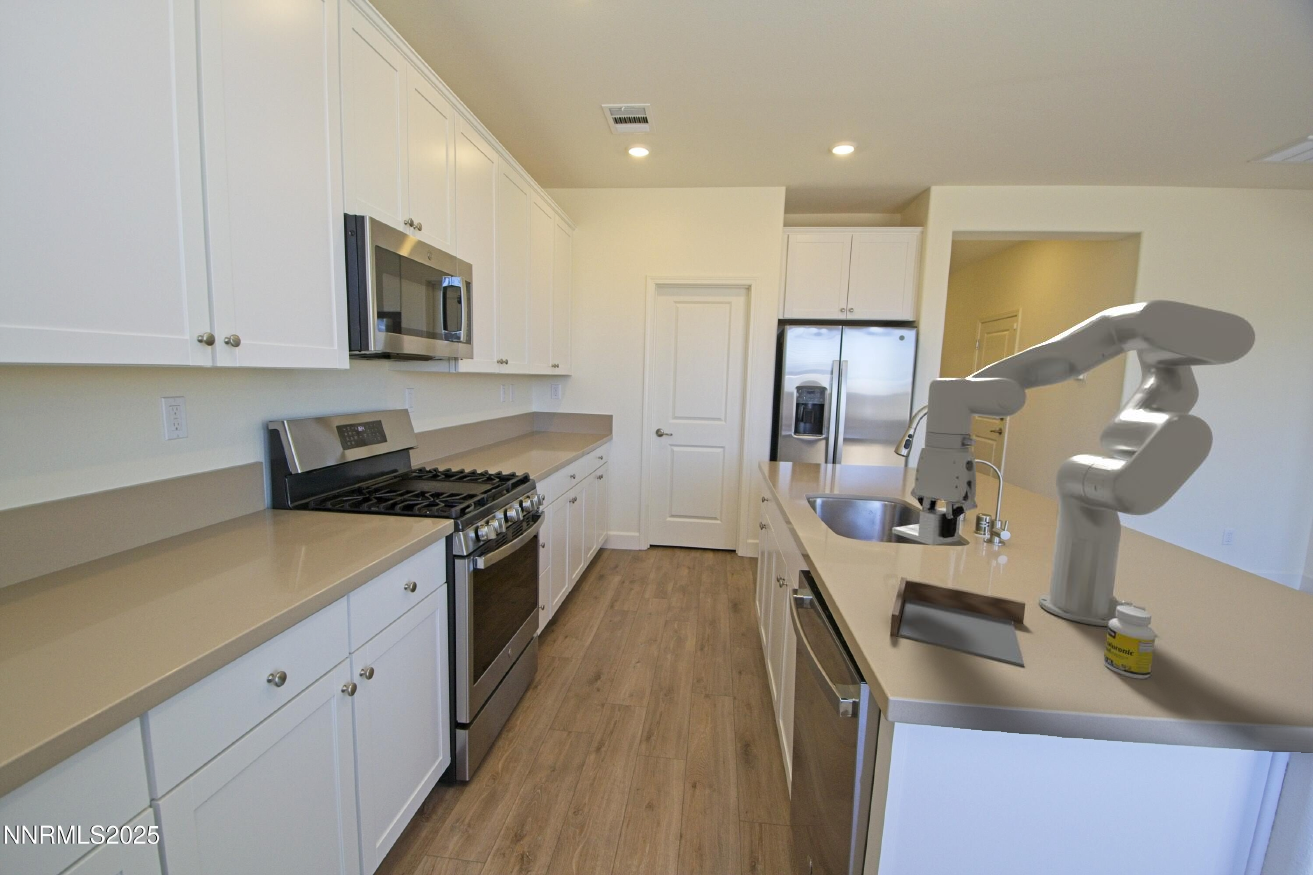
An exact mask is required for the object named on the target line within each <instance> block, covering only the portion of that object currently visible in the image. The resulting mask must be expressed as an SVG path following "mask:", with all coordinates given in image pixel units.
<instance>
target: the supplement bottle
mask: <svg viewBox="0 0 1313 875" xmlns="http://www.w3.org/2000/svg"><path fill="white" fill-rule="evenodd" d="M1116 616H1117V618H1114V619H1112V620H1110V621H1109V625H1108V626H1107V632H1106V639H1105V641H1106V642H1105V649H1104V654H1103V655H1104V656H1103V663H1104V665H1105V666H1106V667H1107V668H1109V669H1110V670H1111V671H1113V672H1114V673H1118V674H1120V675H1122V676H1124V677H1129V678H1133V679H1141V680H1143V679H1147V678H1149V677H1150V675H1151V671H1152V663H1153V657H1154V655H1153V654H1154V648H1155V641H1156V632H1155V630H1154V629H1153V628H1152V627H1150V625H1151V623H1152V614H1151V613H1150V612H1148V611H1147V610H1146V611H1144V610H1142V609H1138V608H1135V607H1130V606H1117V609H1116Z"/></svg>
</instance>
